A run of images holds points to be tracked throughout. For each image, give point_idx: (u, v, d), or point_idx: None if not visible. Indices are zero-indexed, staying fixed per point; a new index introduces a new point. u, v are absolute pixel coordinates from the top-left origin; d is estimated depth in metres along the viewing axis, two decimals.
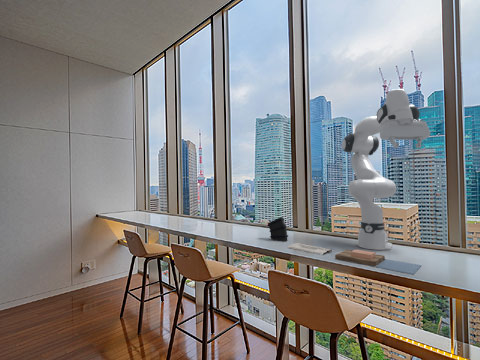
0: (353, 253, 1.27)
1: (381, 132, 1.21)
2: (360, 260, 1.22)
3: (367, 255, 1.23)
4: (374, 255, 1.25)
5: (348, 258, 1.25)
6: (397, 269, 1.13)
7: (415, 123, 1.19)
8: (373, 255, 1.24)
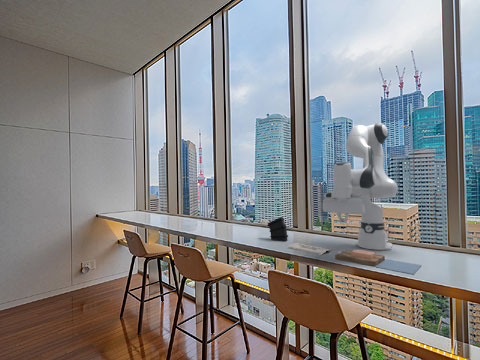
0: (353, 253, 1.27)
1: None
2: (360, 260, 1.22)
3: (367, 255, 1.23)
4: (374, 255, 1.25)
5: (348, 258, 1.25)
6: (397, 269, 1.13)
7: (350, 200, 1.29)
8: (373, 255, 1.24)
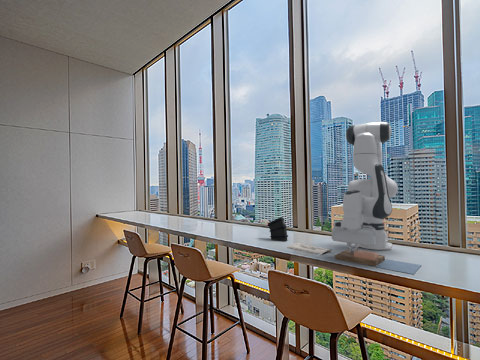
0: (356, 253, 1.26)
1: None
2: (360, 260, 1.22)
3: (370, 256, 1.22)
4: (377, 256, 1.24)
5: (348, 258, 1.25)
6: (397, 269, 1.13)
7: (361, 231, 1.26)
8: (376, 256, 1.23)
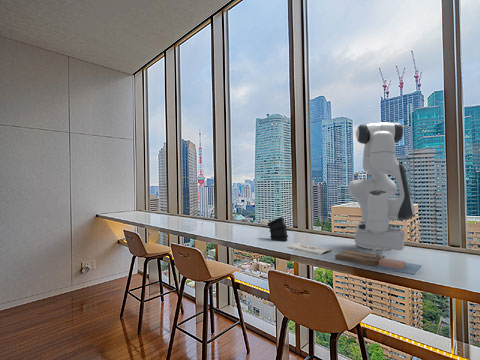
0: (381, 262, 1.18)
1: None
2: (360, 260, 1.22)
3: (397, 264, 1.14)
4: (404, 264, 1.16)
5: (348, 258, 1.25)
6: (397, 269, 1.13)
7: (388, 234, 1.18)
8: (403, 264, 1.15)
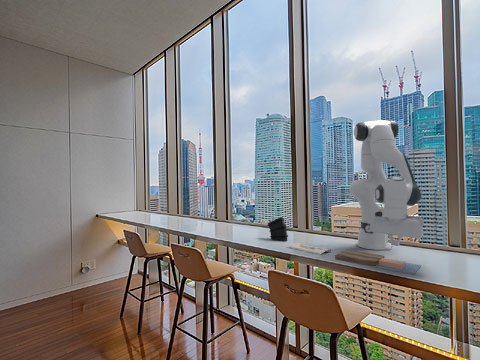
0: (381, 262, 1.18)
1: None
2: (360, 260, 1.22)
3: (397, 264, 1.14)
4: (404, 264, 1.16)
5: (348, 258, 1.25)
6: (397, 269, 1.13)
7: (406, 222, 1.13)
8: (403, 264, 1.15)
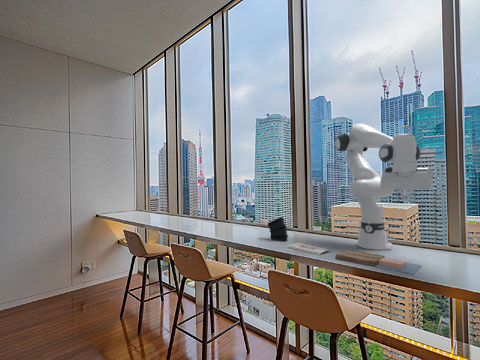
0: (381, 262, 1.18)
1: None
2: (360, 260, 1.22)
3: (397, 264, 1.14)
4: (404, 264, 1.16)
5: (348, 258, 1.25)
6: (397, 269, 1.13)
7: (416, 174, 1.18)
8: (403, 264, 1.15)
